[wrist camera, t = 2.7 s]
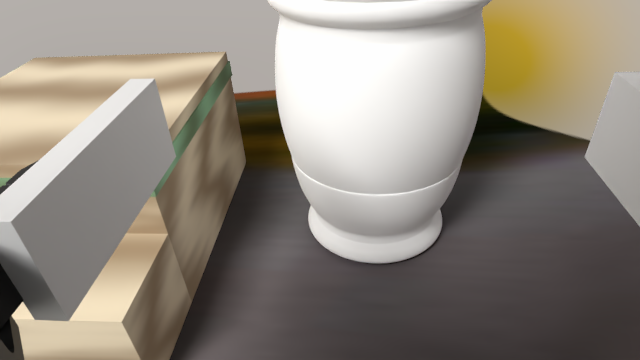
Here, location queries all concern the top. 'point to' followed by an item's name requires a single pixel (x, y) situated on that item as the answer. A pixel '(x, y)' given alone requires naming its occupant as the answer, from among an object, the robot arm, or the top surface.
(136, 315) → the step stand
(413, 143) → the jar
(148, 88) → the robot arm
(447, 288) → the top surface
